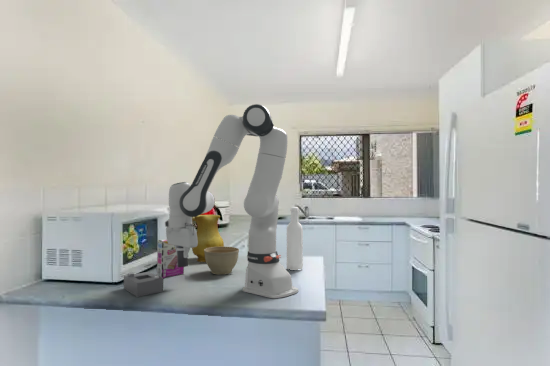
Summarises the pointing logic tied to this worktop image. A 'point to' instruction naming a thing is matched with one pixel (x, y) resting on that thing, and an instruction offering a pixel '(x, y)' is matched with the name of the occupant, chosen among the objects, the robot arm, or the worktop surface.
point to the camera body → (143, 283)
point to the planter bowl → (221, 259)
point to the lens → (181, 257)
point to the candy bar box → (167, 260)
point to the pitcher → (206, 235)
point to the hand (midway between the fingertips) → (182, 256)
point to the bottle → (294, 242)
